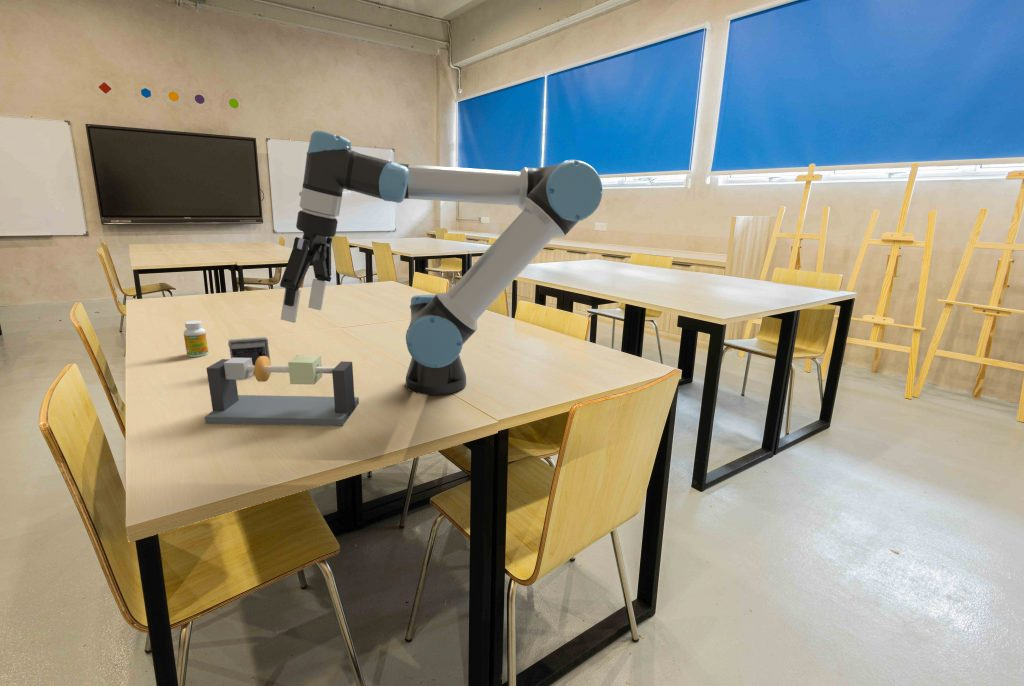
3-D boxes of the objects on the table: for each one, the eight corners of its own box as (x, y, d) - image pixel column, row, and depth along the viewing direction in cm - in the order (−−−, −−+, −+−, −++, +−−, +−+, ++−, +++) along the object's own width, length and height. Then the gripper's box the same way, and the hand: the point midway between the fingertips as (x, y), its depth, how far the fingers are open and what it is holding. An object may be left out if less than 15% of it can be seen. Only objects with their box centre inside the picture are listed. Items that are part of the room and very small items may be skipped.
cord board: (358, 403, 116) (355, 350, 113) (342, 425, 105) (338, 367, 101) (235, 401, 116) (228, 347, 112) (205, 423, 104) (196, 364, 101)
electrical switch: (271, 366, 140) (267, 334, 137) (271, 373, 136) (267, 341, 132) (233, 369, 137) (228, 337, 133) (231, 377, 132) (226, 344, 129)
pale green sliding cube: (322, 376, 111) (320, 355, 109) (314, 384, 106) (312, 362, 105) (299, 376, 111) (297, 355, 109) (290, 384, 106) (288, 362, 105)
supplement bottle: (189, 358, 144) (183, 325, 142) (185, 354, 148) (180, 321, 146) (210, 355, 148) (205, 322, 145) (206, 350, 152) (201, 319, 149)
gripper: (323, 209, 114) (308, 300, 119) (271, 207, 90) (254, 321, 95) (356, 218, 114) (339, 308, 119) (313, 218, 90) (294, 331, 95)
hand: (302, 314), depth 107 cm, fingers open, 13 cm apart
